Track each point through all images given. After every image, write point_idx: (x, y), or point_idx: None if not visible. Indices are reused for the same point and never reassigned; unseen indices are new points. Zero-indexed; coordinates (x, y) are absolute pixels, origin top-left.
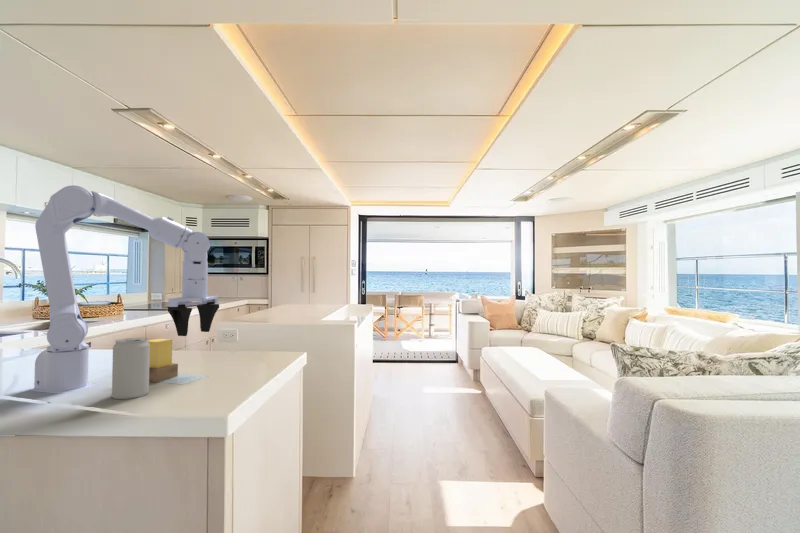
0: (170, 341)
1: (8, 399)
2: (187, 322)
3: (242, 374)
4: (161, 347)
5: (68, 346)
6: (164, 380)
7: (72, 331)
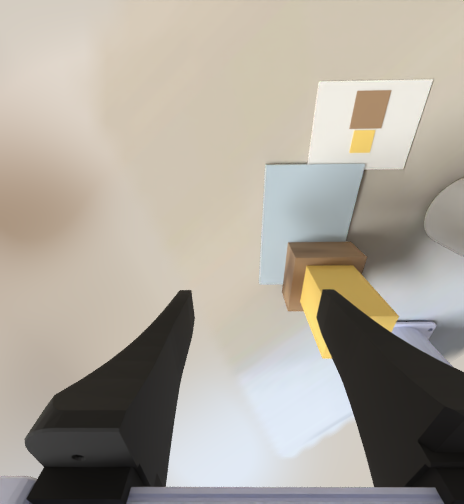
0: None
1: None
2: (368, 329)
3: (187, 91)
4: (371, 301)
5: None
6: (332, 238)
7: None
